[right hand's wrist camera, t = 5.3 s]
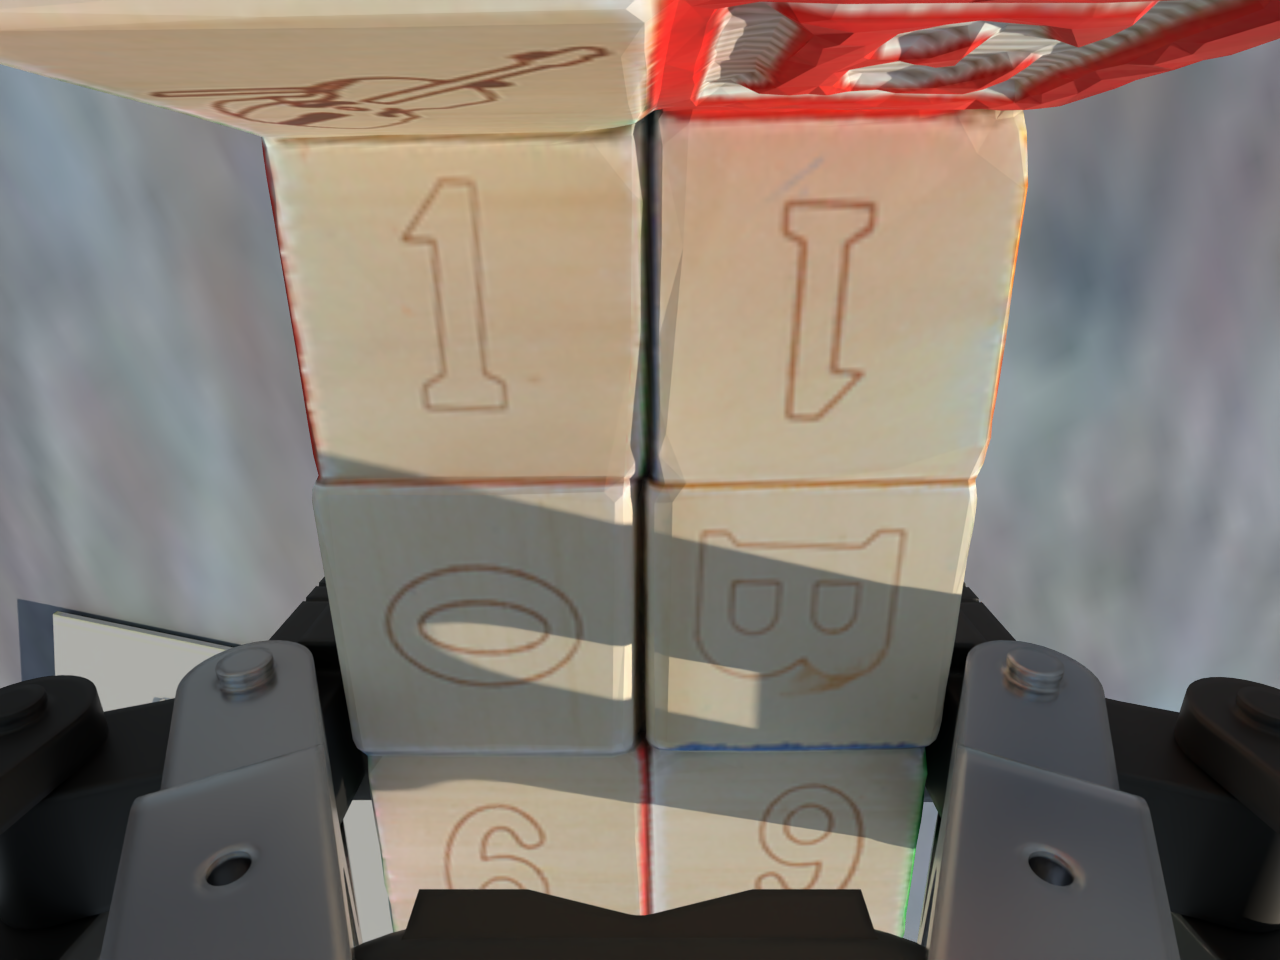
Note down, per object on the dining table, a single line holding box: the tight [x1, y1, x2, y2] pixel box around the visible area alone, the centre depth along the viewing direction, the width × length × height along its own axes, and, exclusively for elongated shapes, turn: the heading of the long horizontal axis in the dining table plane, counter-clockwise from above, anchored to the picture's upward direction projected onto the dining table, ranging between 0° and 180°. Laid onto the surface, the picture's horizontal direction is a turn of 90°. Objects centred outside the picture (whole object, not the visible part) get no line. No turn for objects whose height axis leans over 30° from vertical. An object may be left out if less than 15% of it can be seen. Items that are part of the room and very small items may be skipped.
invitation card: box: [53, 611, 393, 943], centre depth 29 cm, size 21×1×15 cm
